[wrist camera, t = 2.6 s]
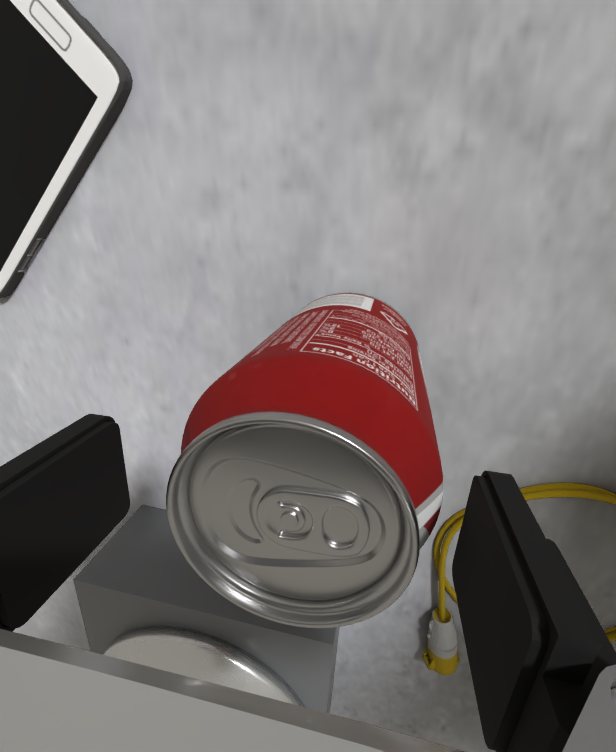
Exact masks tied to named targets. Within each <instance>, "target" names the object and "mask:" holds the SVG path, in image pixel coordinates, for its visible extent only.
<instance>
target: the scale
mask: <svg viewBox="0 0 616 752" xmlns="http://www.w3.org/2000/svg"><path fill="white" fill-rule="evenodd" d="M74 584H75V588H76V592H77V596H78V600H79V604H80V608H81V613H82V617H83V621H84V625H85V629H86V633H87V637H88V641H89V645H90V649H91V652H94V653H98V654H102V655H103V654H104V652H105V651H106V650H107V648H108V647H109V645H110V644H111V643H112V642H113V641H114V640H115V639H116V638H117V637H119V636H120V635H122V634H124V633H126V632H128V631H130V630H133V629H137V628H141V627H148V626H173V627H181V628H186V629H191V630H195V631H199V632H202V633H206V634H209V635H212V636H214V637H217V638H219V639H222V640H224V641H227V642H229V643H231V644H233V645H235V646H237V647H239V648H241V649H243V650H245V651H246V652H248V653H249V654H251V655H253V656H254V657H256V658H258V659H259V660H260V661H262V662H263V663H264V664H266V665H267V666H269V667H270V668H271V669H272V670H273V671H275V672H276V673H277V674H278V675H279V676H280V677H281V678H283V680H284V681H285V682H286V683H287V684H288V685H289V686H290V687H291V688H292V689H293V690H294V692H295V693H296V694H297V696H298V697H299V698H300V700H301V701H302V703H303V705H304V706H305V707H306V708H309V709H313V710H317V711H321V712H325V713H328V714H329V713H330V705H331V696H332V687H333V678H334V670H335V661H336V652H337V643H338V634H339V627H332V628H306V627H297V626H292V625H286V624H282V623H278V622H275V621H271V620H268V619H265V618H263V617H260V616H258V615H255V614H253V613H251V612H249V611H246V610H244V609H243V608H241V607H239V606H237V605H235V604H234V603H232V602H231V601H229V600H227V599H226V598H225V597H223V596H222V595H220V594H219V593H218V592H216V591H215V590H214V589H213V588H212V587H211V586H209V585H208V584H207V583H206V582H205V581H204V580H203V579H202V578H201V577H200V576H199V575H198V574H197V572H196V571H195V570H194V569H193V568H192V566H191V565H190V564H189V563H188V561H187V560H186V558H185V557H184V555H183V554H182V552H181V550H180V548H179V547H178V545H177V543H176V541H175V538H174V536H173V534H172V530H171V527H170V524H169V520H168V515H167V510H163V509H158V508H153V507H148V506H143V505H142V506H141V507H140V508H139V509H138V510H137V511H136V513H135V514H134V515H133V516H132V517H131V518H130V519H129V520H128V521H127V522H126V523H125V524H124V526H123V527H122V528H121V529H120V530H119V531H118V532H117V533H116V534H115V535H114V536H113V537H112V539H111V540H110V541H109V542H108V543H107V544H106V545H105V546H104V547H103V548H102V549H101V550H100V552H99V553H98V554H97V555H96V556H95V557H94V558H93V559H92V560H91V561H90V562H89V563H88V564H87V566H86V567H85V568H84V569H83V570H82V571H81V572H80V573H79V574H78V575H77V576H76V577H75V579H74Z"/></svg>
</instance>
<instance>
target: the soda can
mask: <svg viewBox="0 0 616 752" xmlns="http://www.w3.org/2000/svg"><path fill="white" fill-rule="evenodd" d="M442 497H443V474H442V467H441V461H440V456H439V450H438V445H437V440H436V435H435V430H434V424H433V419H432V414H431V409H430V404H429V399H428V393H427V388H426V383H425V378H424V373H423V367H422V362H421V357H420V352H419V347H418V344H417V341H416V338H415V335H414V333H413V331H412V329H411V328H410V326H409V325H408V323H407V322H406V321H405V319H404V318H403V317H402V316H401V315H400V314H399V313H398V312H397V311H396V310H394V309H393V308H392V307H391V306H389V305H388V304H386V303H384V302H382V301H380V300H378V299H376V298H373V297H371V296H367V295H363V294H358V293H338V294H332V295H328V296H325V297H322V298H319V299H317V300H315V301H313V302H312V303H310V304H308V305H307V306H305V307H304V308H303V309H302V310H300V311H299V312H298V313H297V314H296V315H294V316H293V317H292V318H291V319H290V320H288V321H287V322H286V323H285V324H284V325H282V326H281V327H280V328H279V329H278V330H276V331H275V332H274V333H273V334H272V335H270V336H269V337H268V338H267V339H266V340H264V341H263V342H262V343H261V344H260V345H258V346H257V347H256V348H255V349H254V350H252V351H251V352H250V353H249V354H247V355H246V356H245V357H244V358H243V359H241V360H240V361H239V362H238V363H237V364H235V365H234V366H233V367H232V368H231V369H229V370H228V371H227V372H226V373H225V374H223V375H222V376H221V377H220V378H219V379H218V380H216V381H215V382H214V383H213V384H212V385H211V386H210V387H209V388H208V389H207V390H206V391H205V392H204V393H203V395H202V396H201V397H200V399H199V400H198V402H197V403H196V404H195V406H194V408H193V410H192V412H191V414H190V416H189V418H188V421H187V423H186V426H185V430H184V434H183V439H182V446H181V455H180V457H179V458H178V460H177V462H176V464H175V465H174V467H173V470H172V472H171V475H170V478H169V482H168V486H167V494H166V506H167V515H168V520H169V524H170V527H171V530H172V534H173V536H174V538H175V541H176V543H177V545H178V547H179V548H180V550H181V552H182V554H183V555H184V557H185V558H186V560H187V561H188V563H189V564H190V565H191V566H192V568H193V569H194V570H195V571H196V572H197V574H198V575H199V576H200V577H201V578H202V579H203V580H204V581H205V582H206V583H207V584H208V585H209V586H211V587H212V588H213V589H214V590H215V591H216V592H218V593H219V594H220V595H222V596H223V597H225V598H226V599H227V600H229V601H231V602H232V603H234V604H235V605H237V606H239V607H241V608H243V609H244V610H246V611H249V612H251V613H253V614H255V615H258V616H260V617H263V618H265V619H268V620H271V621H275V622H278V623H282V624H286V625H292V626H297V627H306V628H332V627H340V626H346V625H350V624H354V623H357V622H361V621H363V620H366V619H368V618H371V617H373V616H375V615H377V614H378V613H380V612H382V611H383V610H385V609H386V608H388V607H389V606H390V605H391V604H393V603H394V602H395V601H396V600H397V599H398V598H399V597H400V596H401V594H402V593H403V592H404V591H405V589H406V588H407V586H408V585H409V583H410V581H411V579H412V577H413V575H414V572H415V569H416V567H417V562H418V557H419V549H420V548H421V547H422V546H423V545H424V543H425V542H426V540H427V539H428V537H429V536H430V534H431V532H432V530H433V528H434V526H435V524H436V521H437V519H438V516H439V513H440V508H441V504H442Z"/></svg>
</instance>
